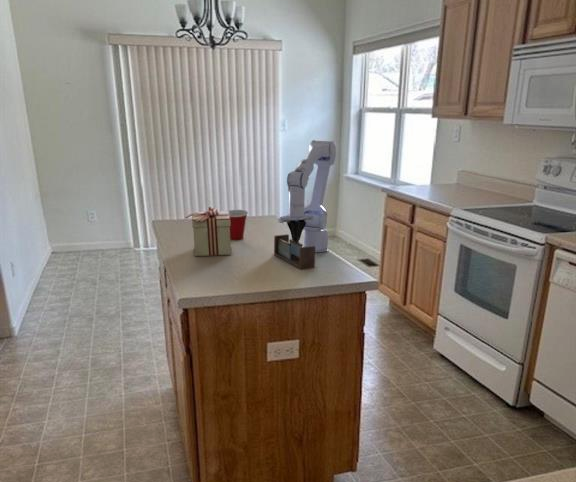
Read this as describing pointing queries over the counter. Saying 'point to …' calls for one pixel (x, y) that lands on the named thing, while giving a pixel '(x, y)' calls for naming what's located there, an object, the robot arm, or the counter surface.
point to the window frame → (284, 252)
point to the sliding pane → (295, 247)
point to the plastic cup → (237, 223)
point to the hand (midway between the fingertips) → (295, 239)
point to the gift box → (211, 232)
